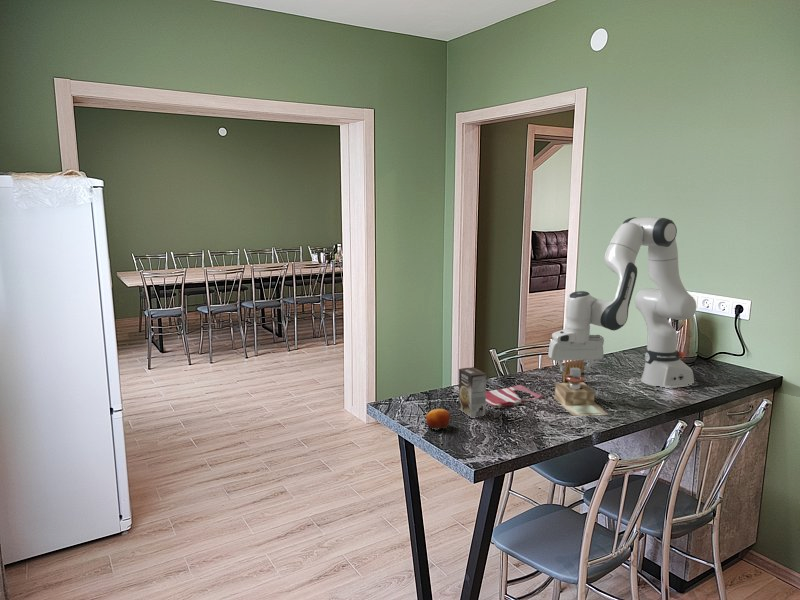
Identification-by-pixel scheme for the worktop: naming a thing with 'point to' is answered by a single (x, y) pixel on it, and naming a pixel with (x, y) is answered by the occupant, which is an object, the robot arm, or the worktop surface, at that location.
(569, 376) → the handwheel peg
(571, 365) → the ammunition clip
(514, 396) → the dish towel
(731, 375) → the worktop surface
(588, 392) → the collar stand
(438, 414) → the fruit
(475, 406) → the coffee box
